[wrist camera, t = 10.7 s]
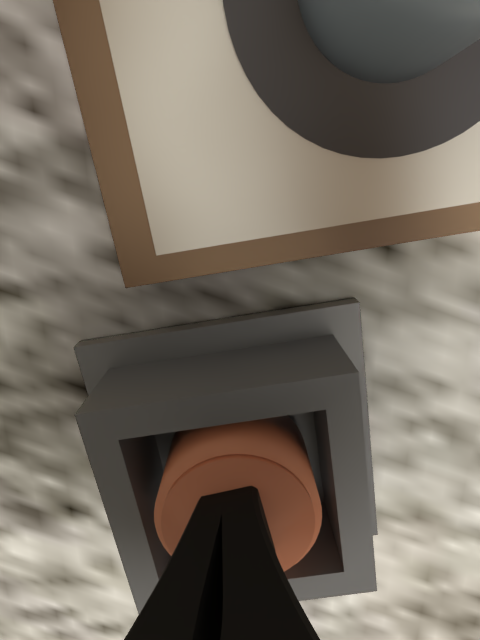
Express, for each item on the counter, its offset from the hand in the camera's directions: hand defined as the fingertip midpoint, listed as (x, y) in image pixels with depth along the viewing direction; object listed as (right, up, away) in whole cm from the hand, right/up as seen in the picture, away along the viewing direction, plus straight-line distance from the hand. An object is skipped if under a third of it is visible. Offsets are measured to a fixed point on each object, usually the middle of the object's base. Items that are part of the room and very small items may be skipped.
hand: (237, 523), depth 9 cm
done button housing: (0, +1, +3) cm, 3 cm away
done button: (0, +1, +2) cm, 2 cm away
